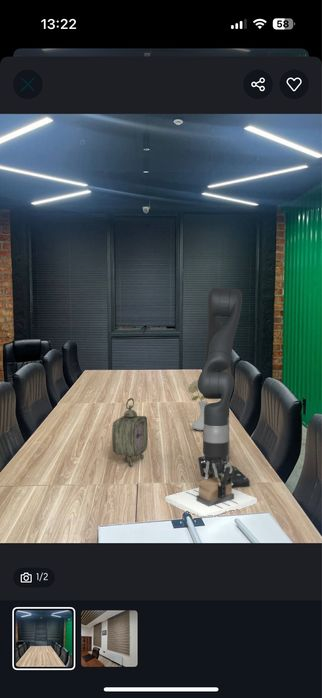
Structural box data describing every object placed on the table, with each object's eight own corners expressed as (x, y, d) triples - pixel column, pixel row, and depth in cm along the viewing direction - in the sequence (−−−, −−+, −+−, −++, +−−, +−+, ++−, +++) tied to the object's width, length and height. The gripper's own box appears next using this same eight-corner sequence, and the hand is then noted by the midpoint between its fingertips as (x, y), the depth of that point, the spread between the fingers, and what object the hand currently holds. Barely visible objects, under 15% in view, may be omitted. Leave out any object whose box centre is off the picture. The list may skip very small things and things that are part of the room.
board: (165, 501, 153) (165, 496, 153) (216, 487, 166) (216, 482, 165) (203, 520, 139) (203, 515, 139) (257, 503, 151) (257, 498, 151)
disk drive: (250, 488, 166) (235, 473, 180) (250, 480, 166) (236, 466, 180) (220, 490, 164) (208, 475, 179) (220, 482, 164) (208, 468, 178)
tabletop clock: (133, 468, 186) (132, 402, 184) (111, 466, 189) (110, 400, 187) (147, 458, 199) (147, 395, 198) (127, 456, 203) (126, 394, 201)
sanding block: (208, 506, 145) (208, 486, 144) (196, 500, 149) (196, 481, 149) (234, 498, 151) (234, 479, 150) (221, 493, 155) (221, 474, 155)
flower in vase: (208, 426, 255) (208, 377, 253) (218, 431, 244) (218, 380, 242) (184, 428, 251) (184, 378, 249) (193, 433, 240) (193, 381, 238)
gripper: (242, 441, 145) (241, 499, 146) (209, 432, 157) (209, 485, 158) (222, 446, 141) (222, 505, 142) (190, 435, 152) (190, 490, 154)
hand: (215, 494), depth 150 cm, fingers closed on sanding block, 4 cm apart
